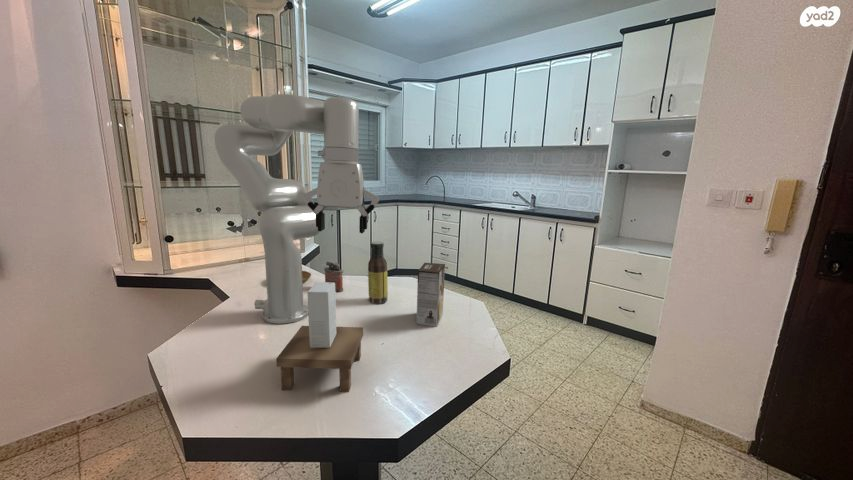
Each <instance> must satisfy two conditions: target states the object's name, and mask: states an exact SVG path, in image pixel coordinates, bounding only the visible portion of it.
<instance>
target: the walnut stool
mask: <svg viewBox="0 0 853 480" xmlns="http://www.w3.org/2000/svg"><path fill="white" fill-rule="evenodd" d="M363 336H364V327H361V326H336V336H335V338H334V340H333V342H332V344H331V347H330V348H311V347H310V340H309V325H301V326H300V327H299V329H298V330H297V332H295V334H294V335H293V336H292V338H291V339H290V340H289V342H288V343H287V344H286V345H285V346H284V348H283V349H282V350H281V352H280V353H279V354H278V355H277V357H276V367H277V368H280V381H281V391H292V390H293V387H294V386H295V384H296V383H295V368H297V369H299V368H300V369H302V368H303V369H329V370H330V369H332V370H334V369H335V370H336V369H337V370H339V375H338V377H339V392H343V393H344V392H345V393H346V392H348V393H349V392H350V390H351V387H352V370H351V369H352V367H353V364H354V362H355V361H360V360H361V357H362V352H361V351H362V340H363V338H364V337H363Z"/></svg>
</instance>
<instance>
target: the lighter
mask: <svg viewBox="0 0 853 480" xmlns="http://www.w3.org/2000/svg"><path fill="white" fill-rule="evenodd" d="M325 265H326V267H324V269H323V270H324V282H330V283H335V293H342V292H344V286H343V279H344V278H343V274H344V270H343V269H341V267H340V266H341V265H340V264H339V263H337V262H336V261H335V262H334V261H333V262H332V261H326V263H325Z"/></svg>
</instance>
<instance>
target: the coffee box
mask: <svg viewBox="0 0 853 480" xmlns="http://www.w3.org/2000/svg"><path fill="white" fill-rule="evenodd" d="M445 268H446V264H445V263H435V262H424V263H423V264H422V266H421V267H420V268H419V269H418V270H417V292H416V293H417V295H416V298H417V299H416V324H417V325H421V326H430V327H438V326H439V325H440V322H441V319H442V317H443V314H444V293H445V290H444V289H445V288H444V287H445V271H446V269H445Z"/></svg>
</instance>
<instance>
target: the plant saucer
mask: <svg viewBox="0 0 853 480" xmlns="http://www.w3.org/2000/svg"><path fill="white" fill-rule="evenodd" d="M311 277H312V273H311V272H309V271H307V270H302V284H305V283H306V282H307V281H308V280H309V279H310V278H311Z"/></svg>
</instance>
